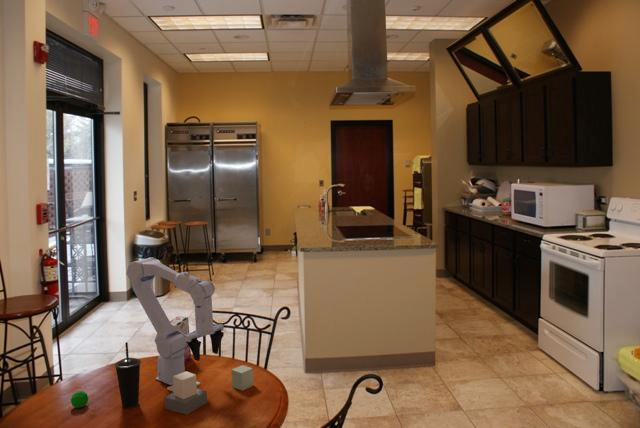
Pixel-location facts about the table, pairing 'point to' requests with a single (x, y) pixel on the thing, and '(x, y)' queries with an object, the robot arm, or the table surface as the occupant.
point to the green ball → (79, 399)
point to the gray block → (186, 402)
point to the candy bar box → (184, 328)
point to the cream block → (185, 385)
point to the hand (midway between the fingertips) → (206, 356)
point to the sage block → (242, 377)
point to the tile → (173, 387)
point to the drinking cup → (128, 380)
